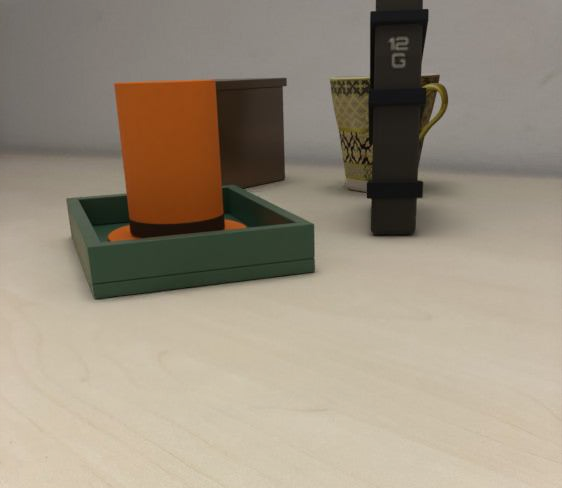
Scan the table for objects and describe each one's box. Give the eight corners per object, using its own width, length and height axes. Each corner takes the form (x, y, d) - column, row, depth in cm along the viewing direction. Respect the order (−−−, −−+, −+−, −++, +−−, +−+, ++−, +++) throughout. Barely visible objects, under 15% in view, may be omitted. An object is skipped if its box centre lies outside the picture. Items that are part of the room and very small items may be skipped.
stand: (147, 185, 74) (136, 82, 70) (217, 173, 81) (211, 79, 77) (221, 193, 67) (214, 81, 63) (289, 179, 75) (286, 77, 71)
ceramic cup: (309, 186, 70) (308, 77, 66) (386, 176, 75) (389, 74, 71) (398, 204, 60) (403, 76, 56) (479, 190, 65) (489, 72, 61)
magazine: (365, 220, 46) (370, -7, 46) (366, 260, 59) (370, 83, 59) (424, 220, 45) (429, -10, 46) (412, 260, 58) (415, 81, 59)
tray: (71, 236, 52) (65, 198, 50) (236, 220, 55) (234, 184, 54) (94, 299, 37) (87, 246, 36) (315, 271, 41) (314, 223, 40)
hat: (79, 245, 45) (56, 84, 41) (180, 221, 52) (168, 79, 48) (176, 264, 40) (160, 82, 36) (275, 235, 46) (270, 77, 43)
